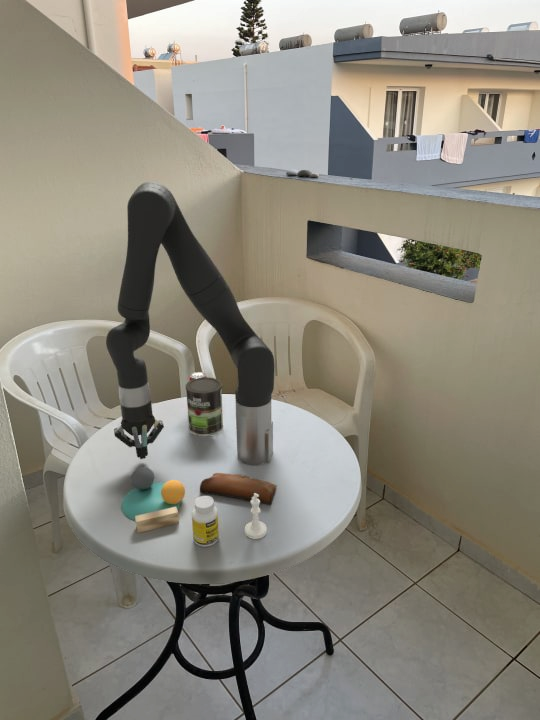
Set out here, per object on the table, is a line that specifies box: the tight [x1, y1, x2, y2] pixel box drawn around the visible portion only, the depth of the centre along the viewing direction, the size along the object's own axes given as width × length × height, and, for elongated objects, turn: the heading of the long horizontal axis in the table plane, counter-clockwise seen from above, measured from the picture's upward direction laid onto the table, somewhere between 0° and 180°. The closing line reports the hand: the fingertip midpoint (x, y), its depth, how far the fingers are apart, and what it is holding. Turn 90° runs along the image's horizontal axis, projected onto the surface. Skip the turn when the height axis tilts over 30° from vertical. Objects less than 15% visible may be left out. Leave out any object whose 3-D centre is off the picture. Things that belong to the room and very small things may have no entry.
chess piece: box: [244, 493, 268, 540], centre depth 108 cm, size 5×5×10 cm
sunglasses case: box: [199, 472, 278, 505], centre depth 122 cm, size 18×7×7 cm, turn 75°
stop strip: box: [135, 507, 180, 534], centre depth 111 cm, size 9×2×3 cm, turn 110°
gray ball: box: [130, 466, 155, 490], centre depth 123 cm, size 6×6×6 cm
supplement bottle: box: [191, 495, 220, 548], centre depth 106 cm, size 5×5×10 cm
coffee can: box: [185, 376, 224, 437], centre depth 147 cm, size 10×10×14 cm
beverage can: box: [189, 371, 207, 381], centre depth 157 cm, size 5×5×12 cm
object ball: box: [161, 479, 186, 504], centre depth 118 cm, size 6×6×6 cm
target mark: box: [121, 481, 183, 522], centre depth 119 cm, size 14×14×1 cm
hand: (142, 457), depth 133 cm, fingers closed
